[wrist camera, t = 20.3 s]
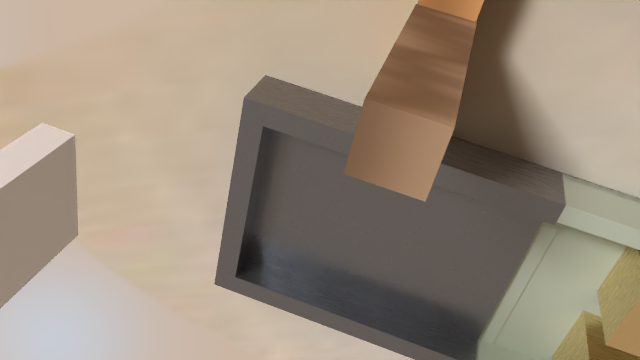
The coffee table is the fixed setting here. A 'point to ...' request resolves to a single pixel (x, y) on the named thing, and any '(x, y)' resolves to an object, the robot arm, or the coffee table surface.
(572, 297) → the tray
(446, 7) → the bent wooden stick
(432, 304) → the dark grey shallow tray
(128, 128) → the coffee table surface
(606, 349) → the tan cube
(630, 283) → the light brown cube
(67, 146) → the robot arm
